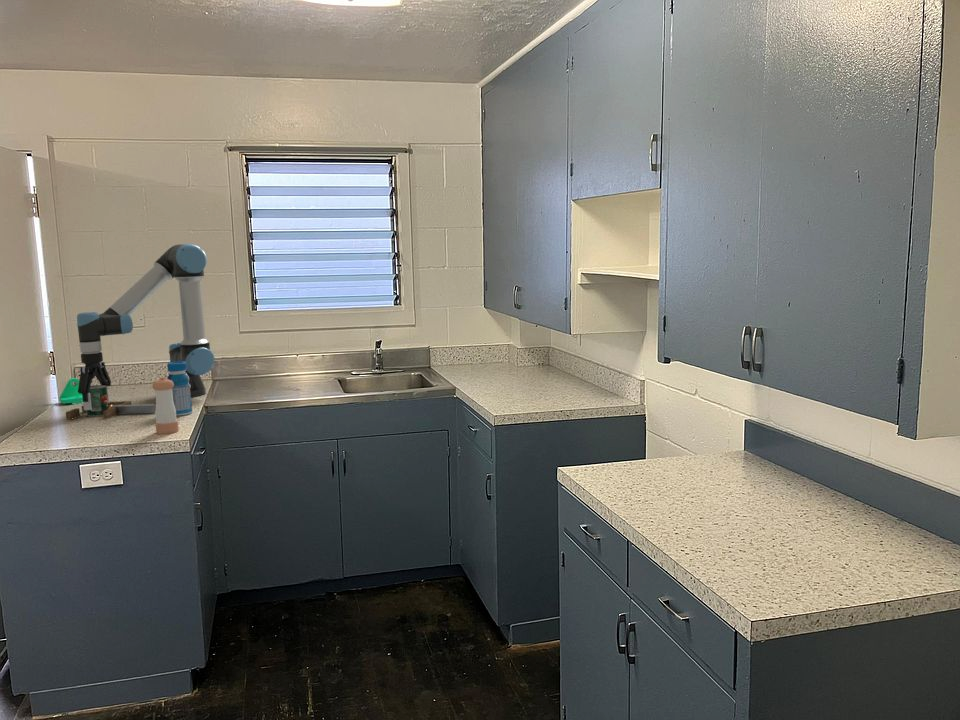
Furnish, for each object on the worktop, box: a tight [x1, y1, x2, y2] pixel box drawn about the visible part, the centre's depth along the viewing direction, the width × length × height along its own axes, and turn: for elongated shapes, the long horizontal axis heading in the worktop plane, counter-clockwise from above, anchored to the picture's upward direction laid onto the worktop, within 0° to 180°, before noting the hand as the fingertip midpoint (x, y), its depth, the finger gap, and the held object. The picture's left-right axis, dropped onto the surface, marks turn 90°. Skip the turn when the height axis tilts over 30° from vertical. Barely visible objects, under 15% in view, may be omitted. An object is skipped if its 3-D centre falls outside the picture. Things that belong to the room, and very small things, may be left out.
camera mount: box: [58, 377, 83, 405], centre depth 337 cm, size 12×8×10 cm, turn 128°
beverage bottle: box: [166, 361, 193, 417], centre depth 305 cm, size 8×8×20 cm
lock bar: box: [107, 403, 156, 415], centre depth 310 cm, size 18×3×3 cm, turn 88°
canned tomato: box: [86, 384, 108, 417], centre depth 311 cm, size 8×8×11 cm
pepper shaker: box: [151, 377, 180, 435], centre depth 276 cm, size 7×7×19 cm
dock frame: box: [65, 400, 133, 420], centre depth 312 cm, size 16×20×3 cm
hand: (97, 406), depth 311 cm, fingers open, 13 cm apart
